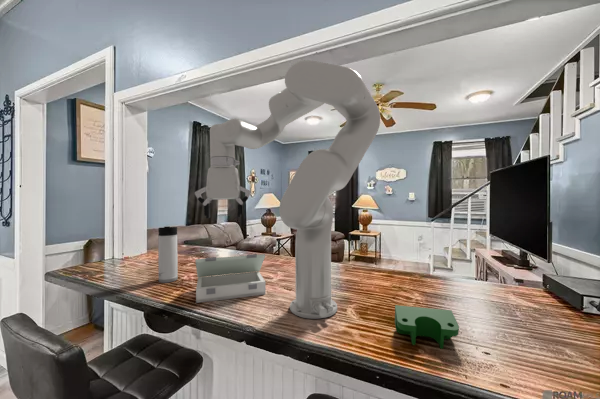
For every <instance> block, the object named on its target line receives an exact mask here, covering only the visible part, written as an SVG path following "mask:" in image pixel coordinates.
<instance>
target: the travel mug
mask: <svg viewBox="0 0 600 399" xmlns="http://www.w3.org/2000/svg"><path fill="white" fill-rule="evenodd" d="M157 229H158V240H157V241H158V246H157V249H158V256H157V257H158V261H157V264H158V265H157V266H158V282H159V283H162V284H165V283H166V284H167V283H172V282H176V281H177V280H178V277H179V276H178V274H179V273H178V270H179V269H178V266H179V265H178V264H179V263H178V258H179V257H178V227H177V226H163V227H158V228H157Z"/></svg>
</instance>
